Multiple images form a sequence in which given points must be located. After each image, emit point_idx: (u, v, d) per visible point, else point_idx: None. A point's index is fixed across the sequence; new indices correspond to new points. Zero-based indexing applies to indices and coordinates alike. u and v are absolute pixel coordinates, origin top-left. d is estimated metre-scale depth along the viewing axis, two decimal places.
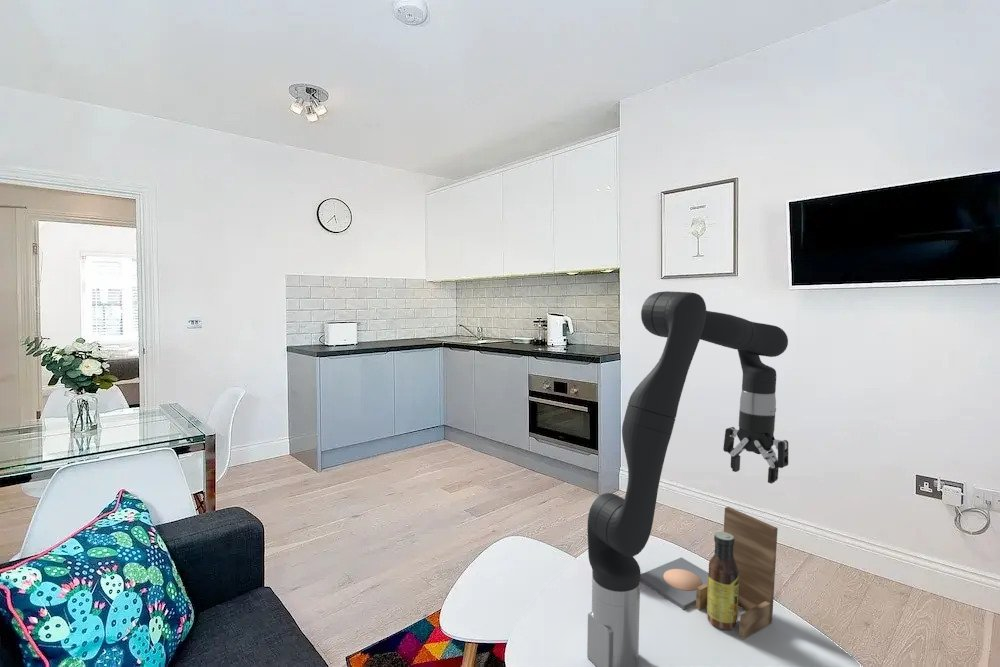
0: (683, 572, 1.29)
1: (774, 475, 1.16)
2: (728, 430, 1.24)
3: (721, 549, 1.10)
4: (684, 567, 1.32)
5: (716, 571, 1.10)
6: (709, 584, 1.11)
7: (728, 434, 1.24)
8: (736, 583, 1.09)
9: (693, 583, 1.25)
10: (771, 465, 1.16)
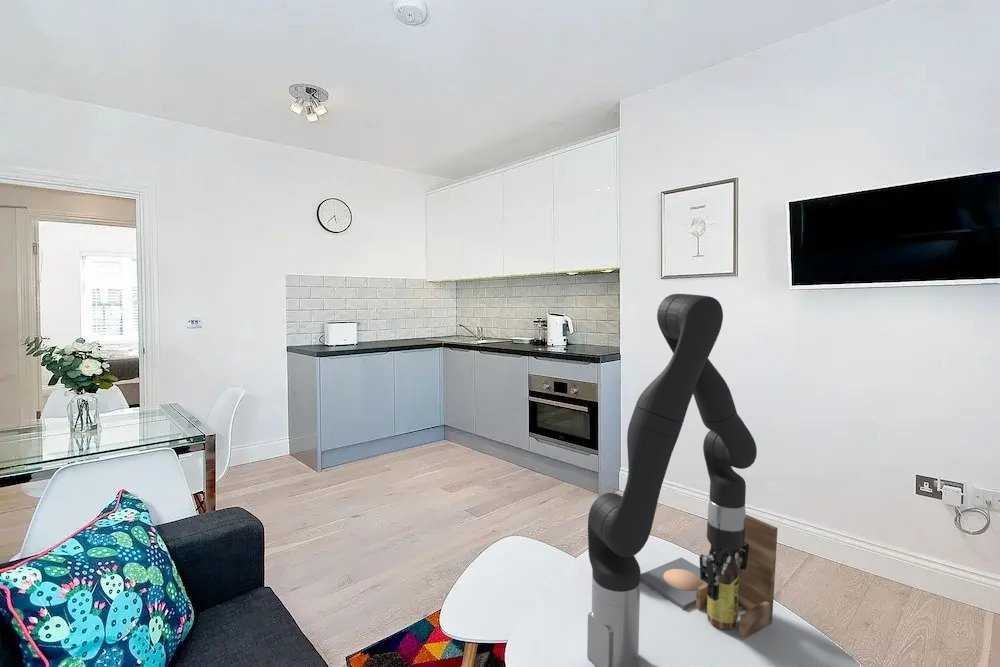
0: (683, 572, 1.29)
1: None
2: (711, 561, 1.07)
3: None
4: (684, 567, 1.32)
5: None
6: None
7: (712, 565, 1.07)
8: (736, 583, 1.09)
9: (693, 583, 1.25)
10: (739, 572, 1.12)
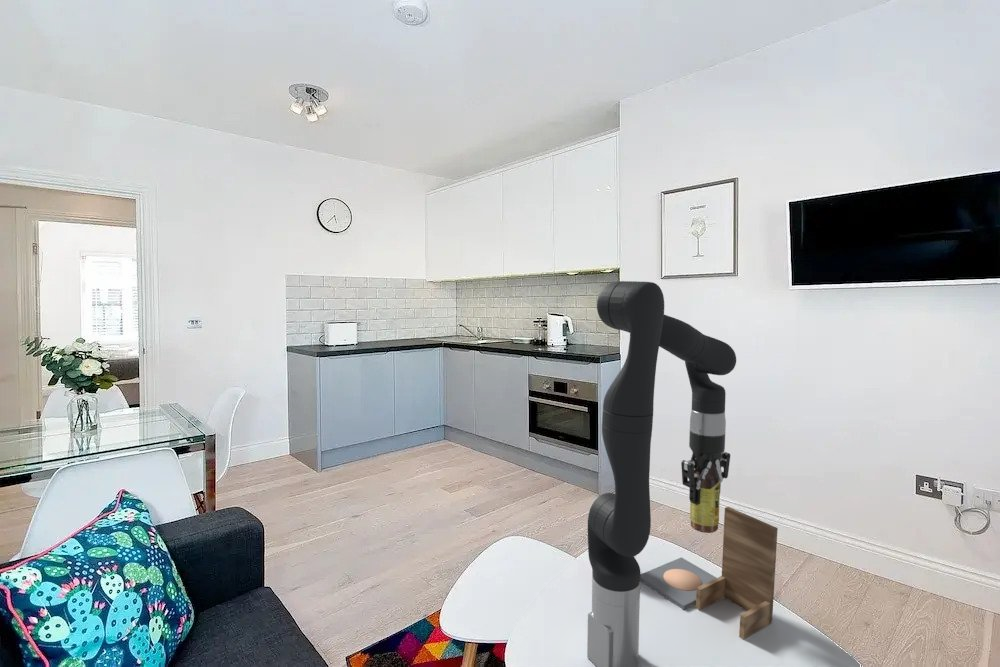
0: (683, 572, 1.29)
1: None
2: (692, 465, 1.12)
3: None
4: (684, 567, 1.32)
5: None
6: None
7: (693, 469, 1.12)
8: (717, 488, 1.14)
9: (693, 583, 1.25)
10: (721, 480, 1.17)
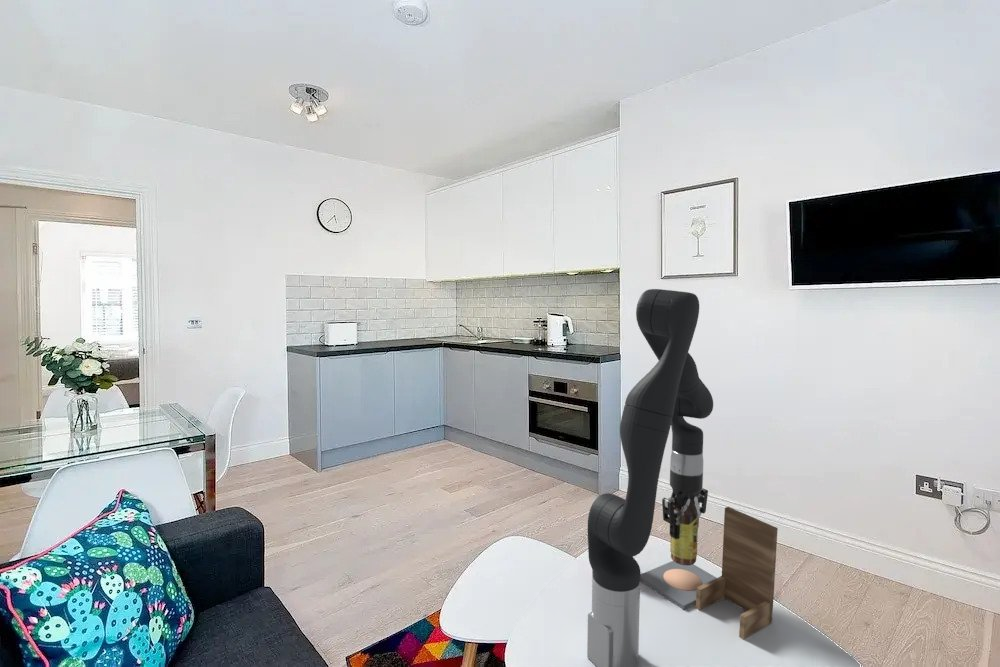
0: (683, 572, 1.29)
1: (698, 522, 1.26)
2: (672, 502, 1.20)
3: None
4: (684, 567, 1.32)
5: None
6: None
7: (672, 506, 1.20)
8: (695, 523, 1.22)
9: (693, 583, 1.25)
10: (699, 515, 1.25)
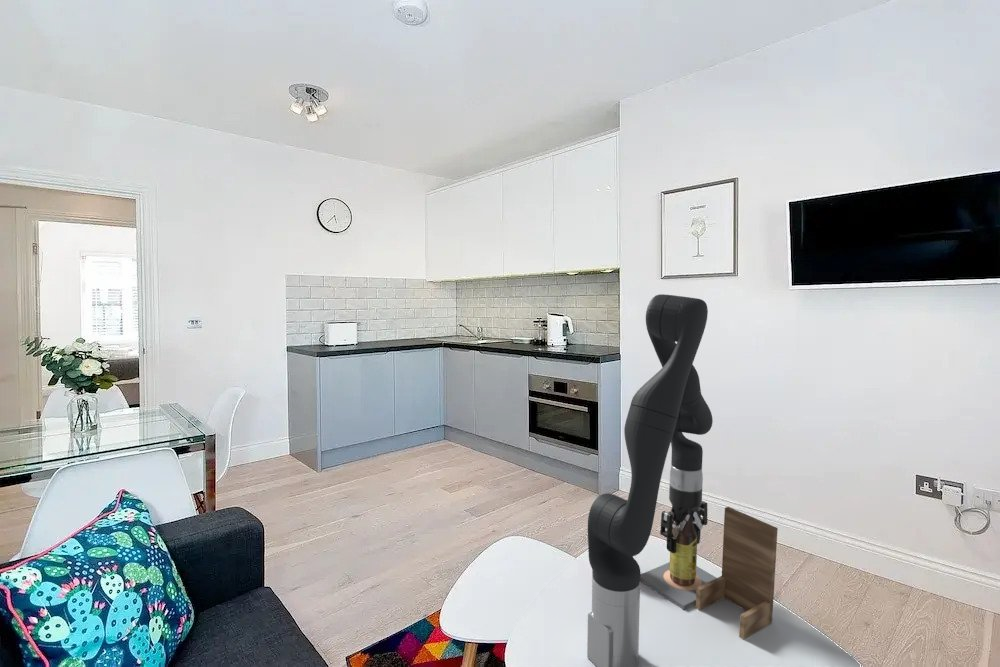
0: None
1: (699, 534, 1.27)
2: (672, 516, 1.20)
3: None
4: None
5: None
6: None
7: (671, 520, 1.20)
8: (694, 544, 1.23)
9: None
10: (700, 527, 1.26)
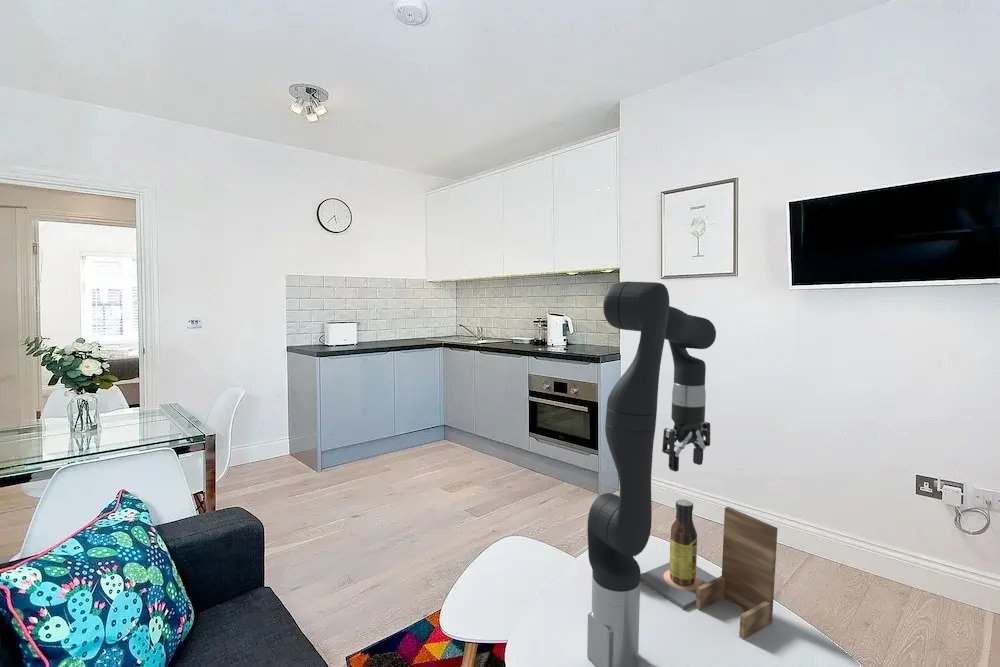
0: None
1: (702, 455, 1.25)
2: (674, 432, 1.18)
3: (681, 514, 1.23)
4: None
5: (677, 533, 1.23)
6: (671, 546, 1.25)
7: (674, 436, 1.18)
8: (694, 544, 1.23)
9: None
10: (703, 447, 1.24)
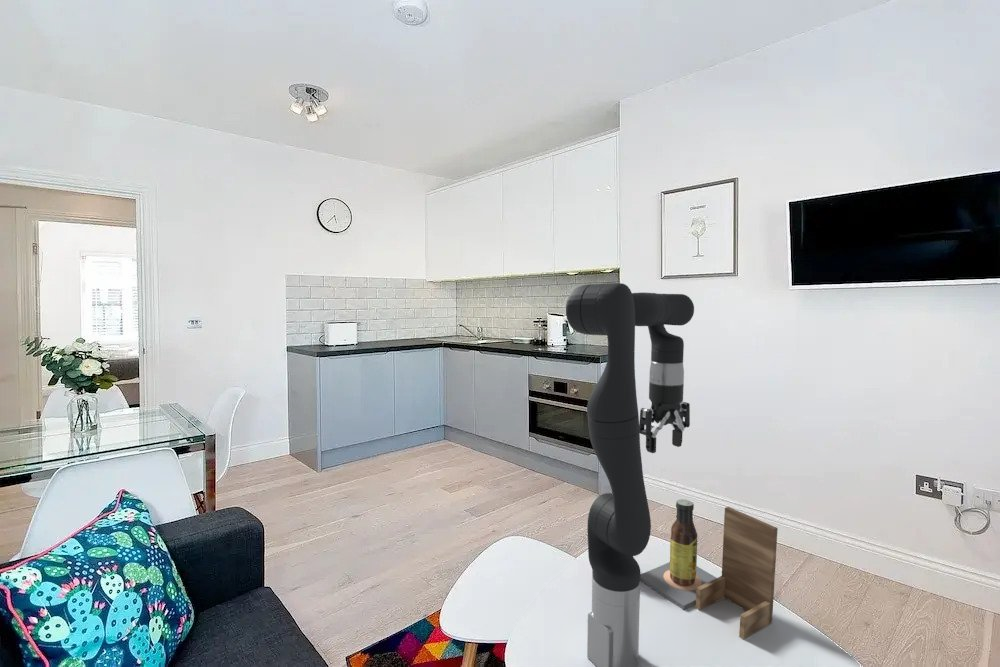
0: None
1: (681, 437, 1.20)
2: (651, 412, 1.13)
3: (682, 514, 1.23)
4: None
5: (677, 533, 1.23)
6: (671, 545, 1.25)
7: (651, 416, 1.13)
8: (694, 544, 1.23)
9: None
10: (682, 428, 1.19)
